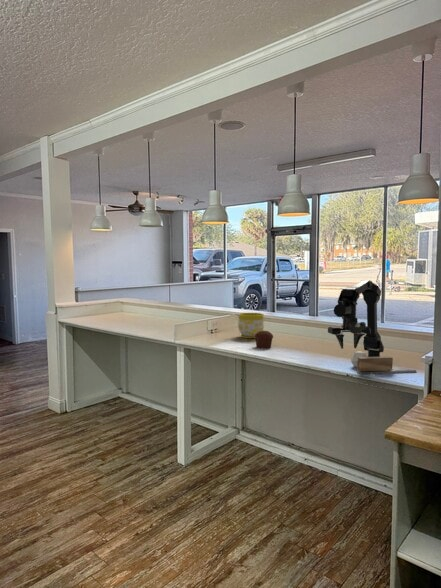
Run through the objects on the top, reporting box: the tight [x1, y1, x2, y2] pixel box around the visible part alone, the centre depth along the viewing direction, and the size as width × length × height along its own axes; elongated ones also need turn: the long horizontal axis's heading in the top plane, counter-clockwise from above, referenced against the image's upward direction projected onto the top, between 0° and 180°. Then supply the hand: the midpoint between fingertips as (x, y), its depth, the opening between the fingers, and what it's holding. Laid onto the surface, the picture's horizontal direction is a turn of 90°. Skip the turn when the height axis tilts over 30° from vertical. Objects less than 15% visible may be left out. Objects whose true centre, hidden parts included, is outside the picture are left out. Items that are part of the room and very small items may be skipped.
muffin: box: [254, 330, 274, 349], centre depth 254 cm, size 12×11×10 cm
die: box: [350, 350, 368, 368], centre depth 204 cm, size 8×9×10 cm
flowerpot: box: [237, 312, 265, 339], centre depth 288 cm, size 18×18×16 cm
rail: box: [356, 367, 417, 376], centre depth 195 cm, size 4×28×1 cm, turn 99°
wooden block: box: [356, 355, 394, 372], centre depth 194 cm, size 3×16×6 cm, turn 99°
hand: (348, 348), depth 191 cm, fingers open, 6 cm apart
